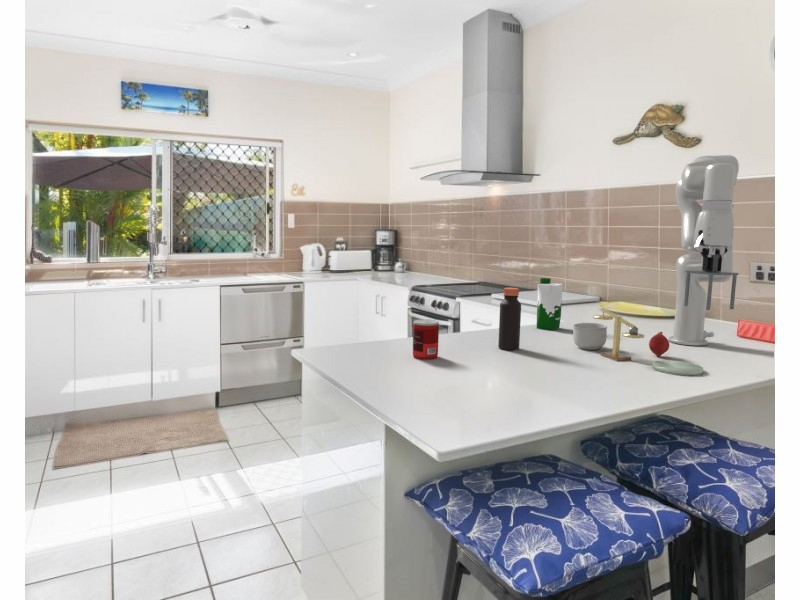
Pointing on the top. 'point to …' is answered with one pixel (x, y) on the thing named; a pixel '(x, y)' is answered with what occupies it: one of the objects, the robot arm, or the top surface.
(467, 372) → the top surface
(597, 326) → the teacup
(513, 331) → the bottle
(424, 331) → the canned food
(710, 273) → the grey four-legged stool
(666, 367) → the dish
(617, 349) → the balance
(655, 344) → the onion
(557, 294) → the milk carton
